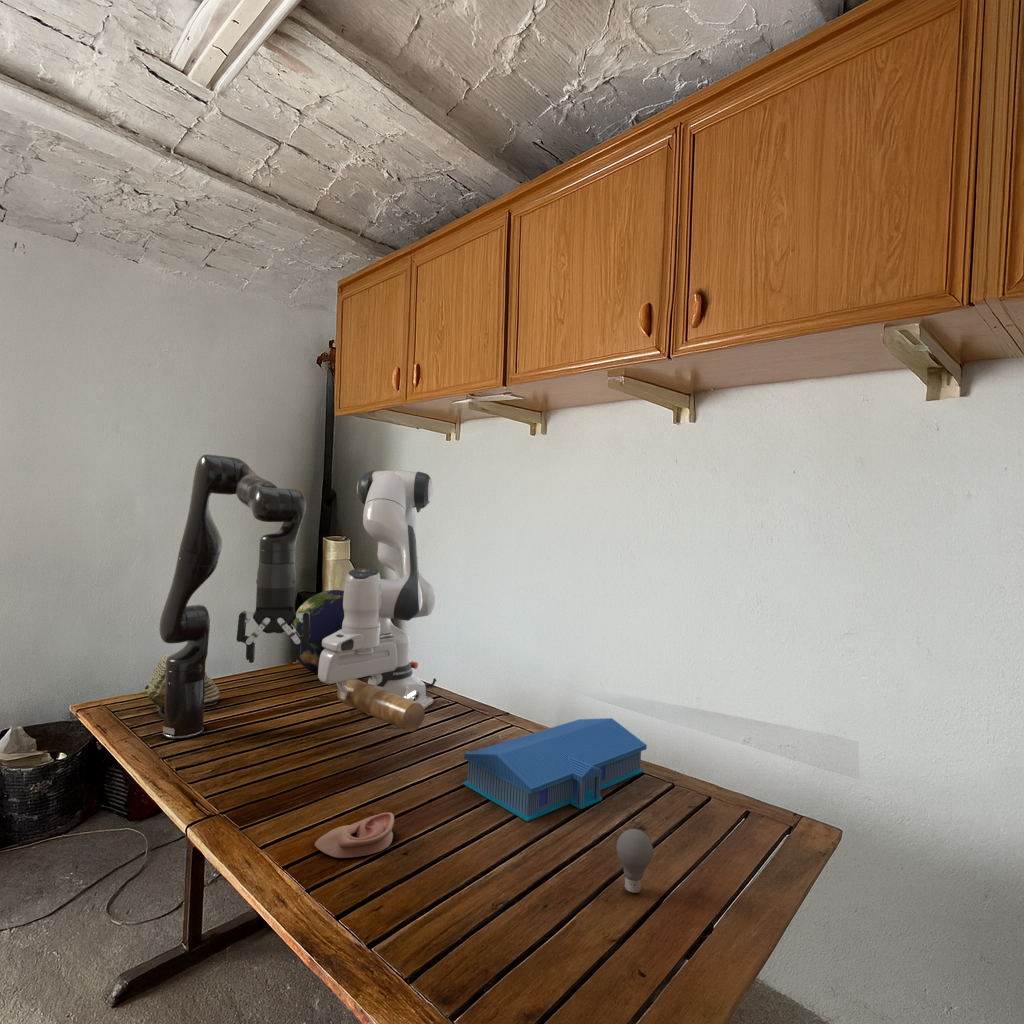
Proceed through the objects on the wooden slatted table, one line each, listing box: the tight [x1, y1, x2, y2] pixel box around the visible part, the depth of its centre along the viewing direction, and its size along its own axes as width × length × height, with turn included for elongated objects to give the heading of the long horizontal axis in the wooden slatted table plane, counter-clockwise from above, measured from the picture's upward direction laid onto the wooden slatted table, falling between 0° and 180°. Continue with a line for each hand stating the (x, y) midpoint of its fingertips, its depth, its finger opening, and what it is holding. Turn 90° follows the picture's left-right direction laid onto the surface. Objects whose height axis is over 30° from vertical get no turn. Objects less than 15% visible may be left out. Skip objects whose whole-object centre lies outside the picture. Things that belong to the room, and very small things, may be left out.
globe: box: [289, 589, 344, 676], centre depth 222 cm, size 30×30×30 cm
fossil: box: [147, 654, 221, 711], centre depth 185 cm, size 9×18×15 cm, turn 132°
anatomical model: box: [314, 812, 395, 859], centre depth 117 cm, size 13×4×12 cm
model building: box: [462, 717, 648, 822], centre depth 147 cm, size 39×24×10 cm, turn 132°
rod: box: [336, 678, 426, 733], centre depth 145 cm, size 25×6×6 cm, turn 48°
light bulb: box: [615, 828, 654, 894], centre depth 106 cm, size 6×6×10 cm
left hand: (273, 661), depth 132 cm, fingers open, 8 cm apart
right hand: (358, 695), depth 150 cm, fingers closed on rod, 6 cm apart
